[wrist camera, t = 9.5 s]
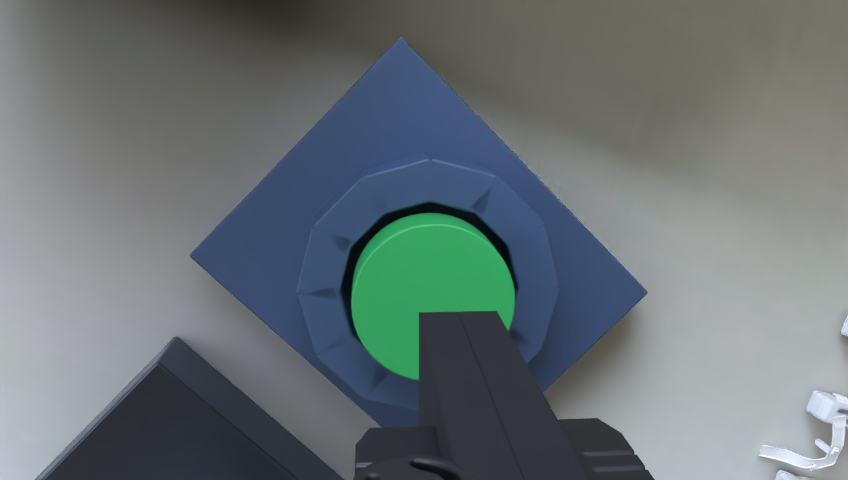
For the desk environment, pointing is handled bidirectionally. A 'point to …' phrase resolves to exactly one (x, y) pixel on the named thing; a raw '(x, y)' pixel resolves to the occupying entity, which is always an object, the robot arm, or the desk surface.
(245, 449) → the dial panel
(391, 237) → the button
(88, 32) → the desk surface
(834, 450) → the figurines set
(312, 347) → the block
